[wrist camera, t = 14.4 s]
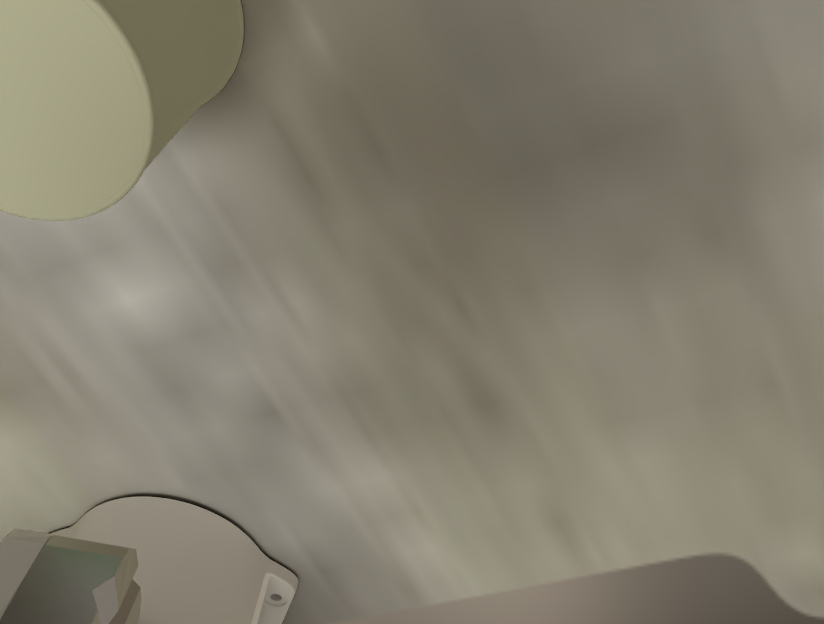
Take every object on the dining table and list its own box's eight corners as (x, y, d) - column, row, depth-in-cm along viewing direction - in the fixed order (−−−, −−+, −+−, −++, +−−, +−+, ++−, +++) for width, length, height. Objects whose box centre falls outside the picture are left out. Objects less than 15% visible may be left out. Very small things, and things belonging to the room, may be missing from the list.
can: (8, -97, 32) (-204, -49, 22) (220, -113, 31) (98, -71, 21) (77, 116, 37) (-70, 233, 27) (262, 108, 36) (179, 226, 26)
